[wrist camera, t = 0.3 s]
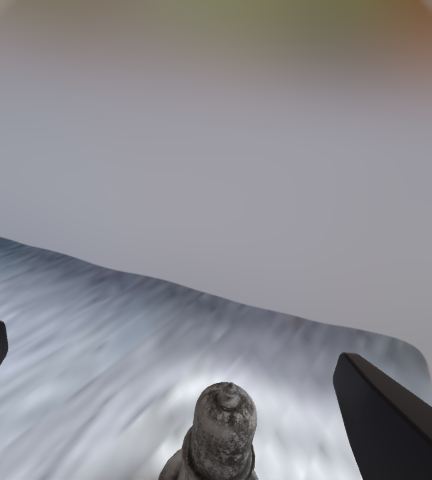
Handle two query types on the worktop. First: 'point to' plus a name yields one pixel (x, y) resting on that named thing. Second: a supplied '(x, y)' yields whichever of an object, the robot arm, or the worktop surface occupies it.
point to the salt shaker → (217, 438)
